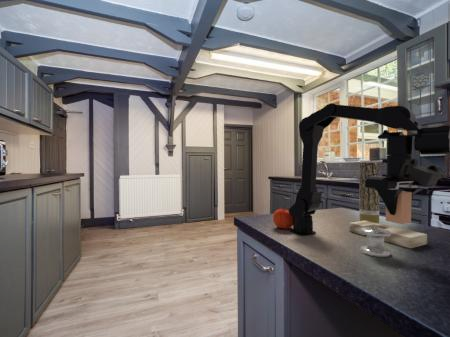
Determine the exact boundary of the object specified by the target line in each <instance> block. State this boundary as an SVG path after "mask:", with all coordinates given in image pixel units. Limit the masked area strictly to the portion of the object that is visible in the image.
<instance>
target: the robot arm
mask: <svg viewBox="0 0 450 337" xmlns="http://www.w3.org/2000/svg"><path fill="white" fill-rule="evenodd" d="M337 118H339V119H347V120H348V119H349V120H356V121H362V122H369V123H370V122H371V123H375V124H378V125H381V126H385V127H387V128H390V129H393V130H396V131H389V130H387V129H384V130H383V131H382V132H381V133H380V134H379V135H377V139H379V140H386V145H385V146H386V147H385V148H386V154H385V155H386V157H385V158H383V159H382V161H381V162H382V164H385V174H384V173H382V174H381V176H380V175H379V176H369V177H367V178H366V179H365V187H370V188H374V189H375V190H377V192H378V193H379V197H380V199H381V200H382V202H383V204H384V205H385V208H386V207H387V209H388V211H389V213H390V214H391V215H395V213H396V207H397V199H398V195H399V194H400V193H401V192H402V191H406V192H412V198H411V201H412V199H413V198H414V195H416V194H417V193H418V192H420V191H422V190H423V189H424V188H425V187H426V188H427V187H433V186H436V185H437V182H438V180H441V179H443V172H442V167H441V166H439V165H437V164H436V165H435V164H430V165H429V166H428V167H427V166H422V165H419V161H418V159H416V158H413V157H414V155H413V154H414V151H416V152H419V154H420V155H421V156H431V155H433V156H434V155H437V156H438V155H442V156H443V155H450V124H447V125H446V124H445V125H439V126H432V127H423V126H422V125H421V124H420V123H418V122H417V121H416V114H415V112H414V111H413V110H411V109H409V108H407V107H405V106H403V105H393V106H390V105H389V106H382V107H366V106H365V107H364V106H354V105H343V104H336V103H334V102H333V103H328V104H326V105H325V106H324V107H322V108H320V109H319V110H317V111H315V112H312V113H311V114H310V115H308V116H306V117H303V118H302V119H301V120H300V121H299V123H298V132H299V138H300V140H301V142H302V161H301V162H302V163H301V181H300V187H299V188H298V190H297V193H296V197H295V201H294V203H293V204H292V205H291V206H290V208H289V209H288V210H289V214H290V216H293V226H292V228H291V229H290V228H289V232H290V233H291V232H292V233H295V234H297V235H300V236H306V235H312V234H317V232H316V231H315V230H314V221H313V216H312V215H315V214H316V211H317V209H319V207H320V205H321V204H322V203H323V202H322V196H323V192H322V191H319V190H318V189H317V171H318V169H317V168H318V153H319V149H318V147H319V144H320V142H321V140H322V138H323V134H324V130H325V129H326V128H327V127H329V126H330V125H331V124H332V123H333V122H334V120H336V119H337ZM403 131H408V132H410V133H414V134H405V133H404V132H403ZM418 186H422V187H418ZM423 187H424V188H423Z"/></svg>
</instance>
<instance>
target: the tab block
mask: <svg viewBox="0 0 450 337" xmlns="http://www.w3.org/2000/svg"><path fill="white" fill-rule="evenodd" d="M411 198H412V192H406V191H402V192H401V193H400V194H399V195H398V199H397V207H396V213H395V215H391V214H390V213H389V211H388V209H387V207H386V206H385V221H386V222H390V223H394V224H399V225H404V224H411V223H412V200H411ZM412 199H413V198H412Z"/></svg>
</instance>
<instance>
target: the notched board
mask: <svg viewBox="0 0 450 337" xmlns="http://www.w3.org/2000/svg"><path fill="white" fill-rule="evenodd" d="M348 224H349V226H348V227H349V232H351V233H355V234H358V235H362V236H364V235H365V234H362V233H361V228H364V227H374V228H381V229H386V230H389V231H390V232H391V236H390V237H384V242H387V243H390V244H394V245H397V246H401V247H405V248H408V249H413V248H417V247H421V246H425V245H428V234H427V233H424V232H418V231H415V230H414V231H413V230H409V229H406V228H405V229H404V228H402V227H401V228H400V227H396V226H392V225H391V226H390V225H388V224H387V225H386V224H381V223H379V224H378V223H374V222H369V221H360V220H359V221H354V222H353V221H352V222H349V223H348ZM365 236H366V235H365Z"/></svg>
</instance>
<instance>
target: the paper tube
mask: <svg viewBox="0 0 450 337" xmlns="http://www.w3.org/2000/svg"><path fill="white" fill-rule="evenodd" d="M358 165H359V168H358V170H359V171H358V172H359V176H358V178H359V181H358V182H359V185H358V186H359V190H358V192H359V194H358V195H359V204H358V205H359V221H369V222H374V223H378V224H380V195H379V193H378V192H377V190H375V189H374V188H370V187H365V179H366V178H367V177H369V176H380V161H378V160H360V161H359V164H358Z"/></svg>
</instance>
